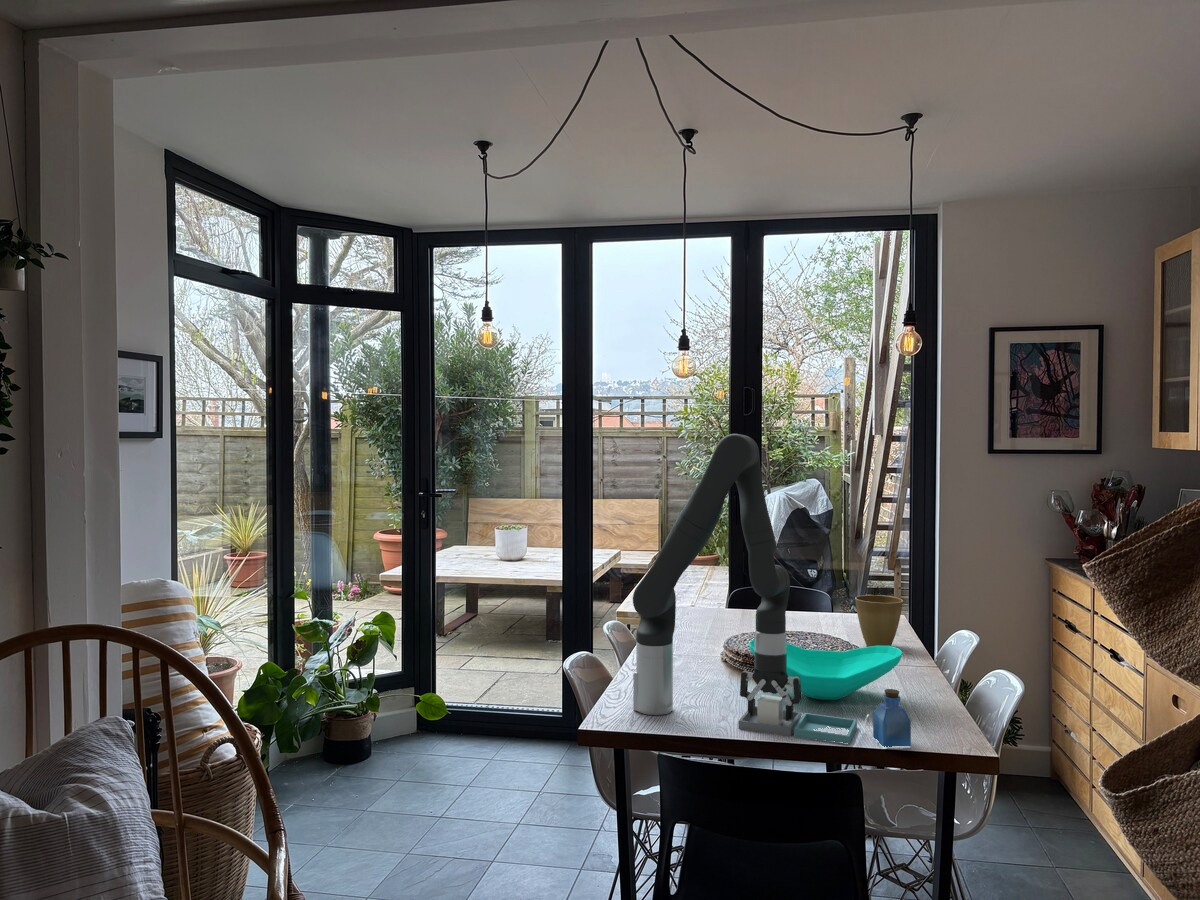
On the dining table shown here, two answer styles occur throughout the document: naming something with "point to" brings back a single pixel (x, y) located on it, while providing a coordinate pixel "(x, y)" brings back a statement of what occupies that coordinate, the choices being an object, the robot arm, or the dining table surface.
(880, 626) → the plant pot
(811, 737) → the teal tray
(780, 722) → the stone block
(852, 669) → the table top decor
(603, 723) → the dining table surface
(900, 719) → the perfume bottle
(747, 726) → the charcoal tray
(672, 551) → the robot arm
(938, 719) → the dining table surface
